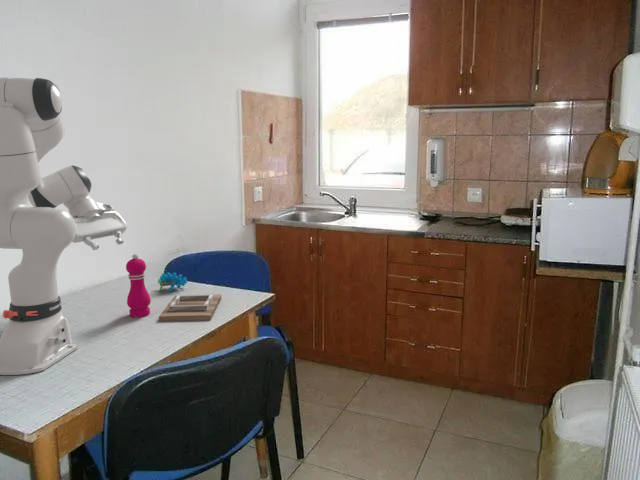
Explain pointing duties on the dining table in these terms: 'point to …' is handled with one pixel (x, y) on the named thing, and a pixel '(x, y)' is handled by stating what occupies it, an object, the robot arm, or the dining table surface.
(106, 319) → the dining table surface
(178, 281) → the toy dinosaur
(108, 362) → the dining table surface
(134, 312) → the pepper mill
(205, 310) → the walnut board
